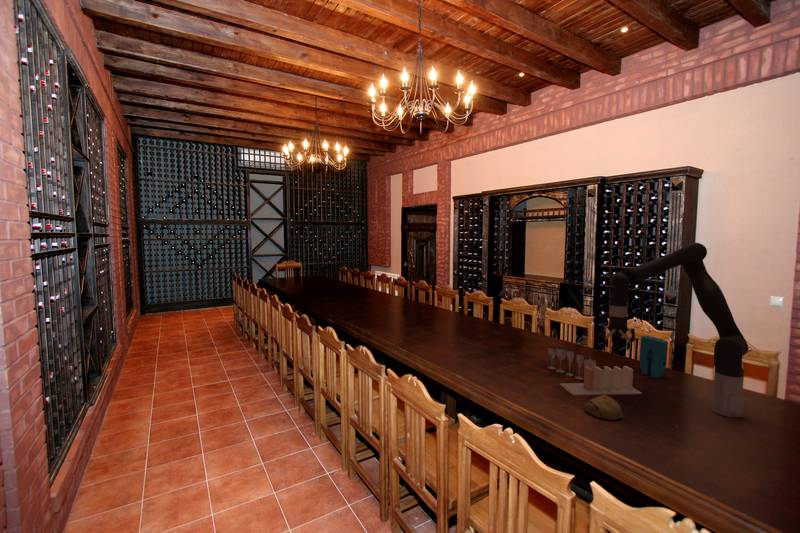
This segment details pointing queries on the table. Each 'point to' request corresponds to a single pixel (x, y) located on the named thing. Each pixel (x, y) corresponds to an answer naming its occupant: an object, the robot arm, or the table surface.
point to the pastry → (604, 408)
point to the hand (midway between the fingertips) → (617, 348)
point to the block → (653, 356)
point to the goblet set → (569, 359)
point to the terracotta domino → (588, 378)
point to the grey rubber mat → (596, 390)
